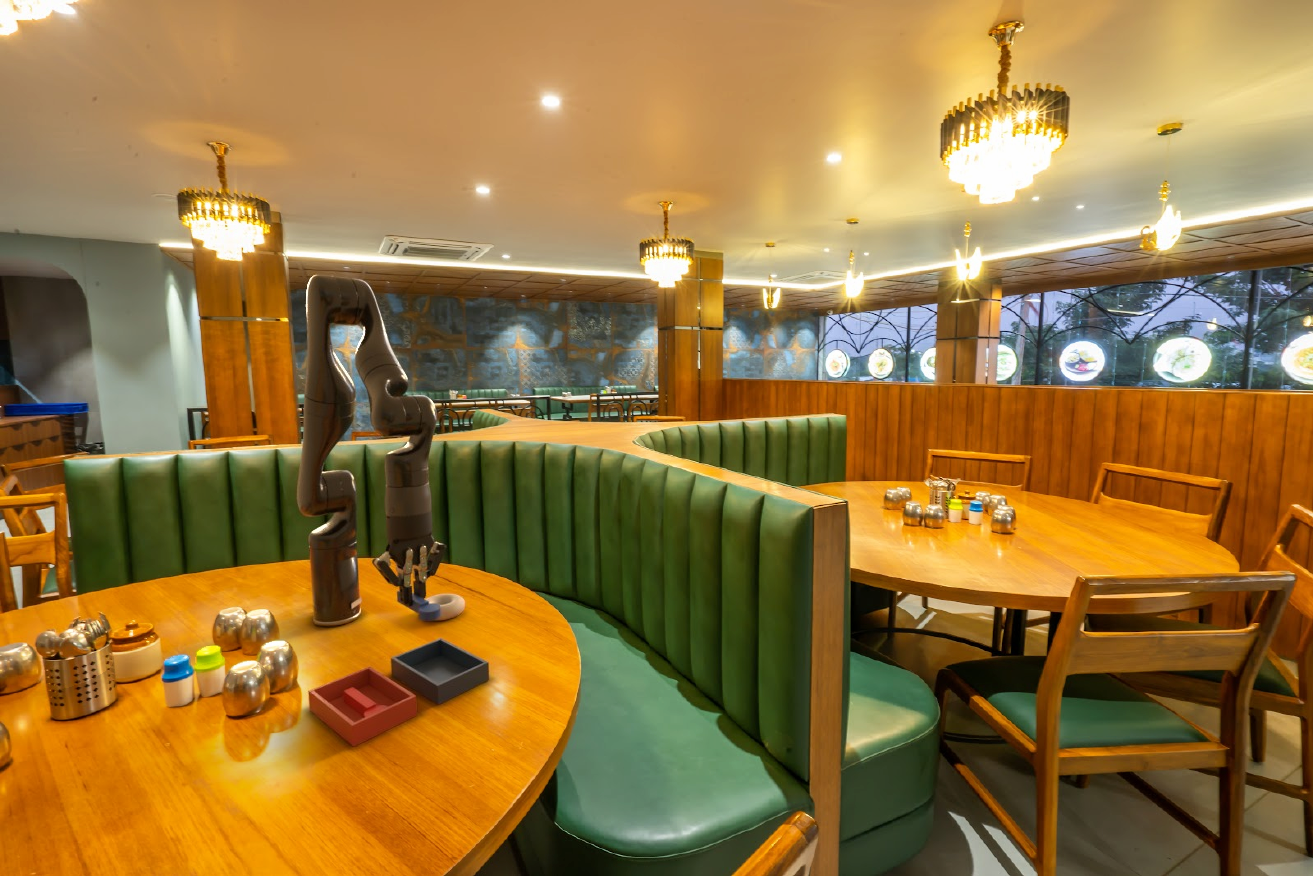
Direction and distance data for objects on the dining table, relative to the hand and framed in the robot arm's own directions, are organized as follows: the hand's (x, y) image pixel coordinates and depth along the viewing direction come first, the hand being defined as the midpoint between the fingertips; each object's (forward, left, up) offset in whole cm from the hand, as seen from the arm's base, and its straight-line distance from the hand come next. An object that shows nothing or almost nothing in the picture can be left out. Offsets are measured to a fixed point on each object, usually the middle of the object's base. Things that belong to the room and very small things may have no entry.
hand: (413, 603), depth 106 cm
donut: (-21, +19, -14) cm, 31 cm away
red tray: (+4, -11, -14) cm, 18 cm away
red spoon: (+4, -11, -14) cm, 18 cm away
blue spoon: (+1, 0, -1) cm, 1 cm away
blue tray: (+4, +3, -14) cm, 15 cm away
